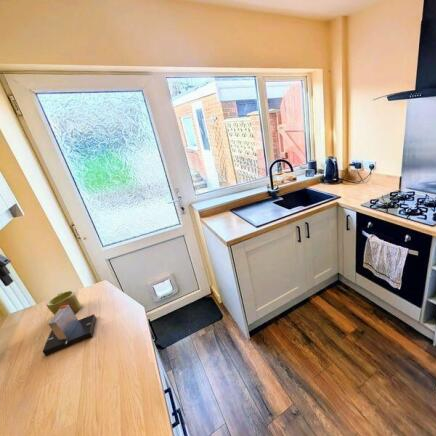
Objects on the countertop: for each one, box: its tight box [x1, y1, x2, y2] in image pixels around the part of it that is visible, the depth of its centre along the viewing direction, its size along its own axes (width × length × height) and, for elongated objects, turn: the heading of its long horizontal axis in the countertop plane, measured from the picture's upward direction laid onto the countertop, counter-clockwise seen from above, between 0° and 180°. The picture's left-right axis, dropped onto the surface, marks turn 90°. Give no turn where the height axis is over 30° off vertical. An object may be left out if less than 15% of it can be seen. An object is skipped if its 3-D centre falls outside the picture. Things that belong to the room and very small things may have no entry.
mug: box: [46, 290, 82, 316], centre depth 107 cm, size 12×10×10 cm
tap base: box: [42, 314, 98, 357], centre depth 94 cm, size 14×13×3 cm
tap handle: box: [47, 305, 79, 342], centre depth 92 cm, size 9×2×9 cm, turn 17°
